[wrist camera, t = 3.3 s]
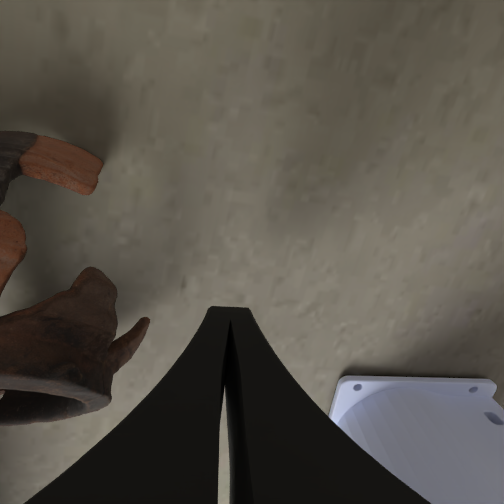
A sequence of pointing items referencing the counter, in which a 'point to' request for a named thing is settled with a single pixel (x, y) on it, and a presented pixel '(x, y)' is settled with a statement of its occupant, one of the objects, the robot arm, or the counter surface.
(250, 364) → the robot arm
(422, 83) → the counter surface
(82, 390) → the brown ceramic jug
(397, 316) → the counter surface
